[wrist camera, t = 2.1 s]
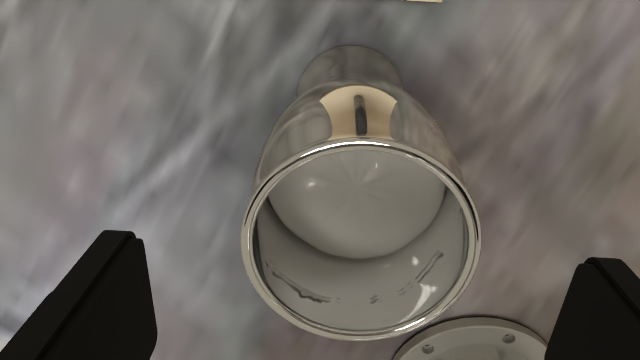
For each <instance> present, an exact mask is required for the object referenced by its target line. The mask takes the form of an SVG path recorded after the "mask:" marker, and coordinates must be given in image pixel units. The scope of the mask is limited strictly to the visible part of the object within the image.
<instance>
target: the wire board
mask: <svg viewBox="0 0 640 360" xmlns="http://www.w3.org/2000/svg"><path fill="white" fill-rule="evenodd" d="M409 1H428V2H442V0H409Z"/></svg>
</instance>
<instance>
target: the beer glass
mask: <svg viewBox="0 0 640 360" xmlns="http://www.w3.org/2000/svg"><path fill="white" fill-rule="evenodd" d="M481 245H482V232H481V224H480V219H479V215H478V212H477V209H476V206H475V204H474V202H473V199H472V197H471V196H470V194H469V192H468V189H467V186H466V183H465V180H464V177H463V174H462V171H461V169H460V166H459V163H458V161H457V158H456V156H455V154H454V152H453V150H452V148H451V146H450V144H449V142H448V140H447V138H446V136H445V134H444V133H443V131H442V130H441V128H440V127H439V125H438V124H437V122H436V121H435V120H434V118H433V117H432V115H431V114H430V113H429V112H428V110H427V109H426V108H425V107H424V106H423V105H422V104H421V103H420V102H419V101H417V100H416V99H415V98H414V97H413V96H411V95H410V94H409V93H408V92H406V91H405V90H404V87H403V83H402V80H401V77H400V75H399V73H398V71H397V70H396V68H395V67H394V65H393V64H392V63H391V62H390V61H389V60H388V59H387V58H386V57H384V56H383V55H382V54H380V53H378V52H377V51H375V50H372V49H370V48H367V47H363V46H356V45H347V46H340V47H336V48H333V49H330V50H328V51H326V52H324V53H322V54H320V55H319V56H318V57H316V58H315V59H314V60H313V61H312V62H311V63H310V64H309V65H308V66H307V68H306V69H305V71H304V72H303V74H302V76H301V78H300V80H299V83H298V87H297V92H296V99H295V100H294V101H293V102H292V103H291V104H290V105H289V106H288V107H287V108H286V109H285V110H284V112H283V113H282V114H281V115H280V117H279V118H278V119H277V121H276V123H275V124H274V126H273V128H272V130H271V132H270V134H269V136H268V138H267V139H266V142H265V144H264V146H263V148H262V151H261V154H260V157H259V160H258V163H257V166H256V169H255V173H254V177H253V181H252V186H251V190H250V195H249V200H248V206H247V208H246V211H245V214H244V217H243V221H242V226H241V235H240V246H241V255H242V260H243V264H244V267H245V270H246V273H247V275H248V277H249V279H250V281H251V283H252V285H253V287H254V288H255V290H256V291H257V293H258V294H259V295H260V297H261V298H262V299H263V300H264V301H265V302H266V303H267V305H268V306H269V307H270V308H272V309H273V310H274V311H275V312H276V313H277V314H279V315H280V316H281V317H283V318H284V319H286V320H287V321H289V322H290V323H292V324H294V325H296V326H298V327H299V328H302V329H304V330H306V331H309V332H311V333H314V334H317V335H320V336H324V337H328V338H332V339H338V340H346V341H374V340H382V339H388V338H392V337H396V336H400V335H403V334H406V333H409V332H412V331H414V330H416V329H418V328H421V327H423V326H424V325H426V324H428V323H430V322H432V321H433V320H435V319H436V318H438V317H439V316H440V315H442V314H443V313H444V312H445V311H447V310H448V309H449V308H450V307H451V306H452V305H453V304H454V303H455V302H456V301H457V300H458V299H459V298H460V296H461V295H462V294H463V292H464V291H465V290H466V288H467V287H468V285H469V283H470V282H471V280H472V278H473V276H474V273H475V271H476V268H477V265H478V262H479V258H480V253H481Z"/></svg>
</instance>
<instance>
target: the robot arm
mask: <svg viewBox="0 0 640 360" xmlns="http://www.w3.org/2000/svg"><path fill="white" fill-rule="evenodd" d="M156 341H157V325H156V319H155V313H154V306H153V300H152V293H151V287H150V280H149V274H148V267H147V261H146V254H145V248H144V243H143V240H142V239H138V238H136V236H135V234H134V233H133V232H132V231H116V230H105V231H103V232H102V233H101V234H100V235H99V236H98V237H97V238H96V240H95V241H94V242H93V243H92V245H91V246H90V247H89V248H88V249H87V251H86V252H85V253H84V254H83V255H82V257H81V258H80V259H79V260H78V261H77V263H76V264H75V265H74V266H73V267H72V269H71V270H70V271H69V272H68V274H67V275H66V276H65V277H64V278H63V280H62V281H61V282H60V283H59V284H58V286H57V287H56V288H55V289H54V290H53V291H52V292H51V293H50V294H49V295H48V296H47V297H46V298H45V299H44V300H43V301H42V303H41V304H40V305H39V306H38V307H37V309H36V310H35V311H34V312H33V313H32V315H31V316H30V317H29V318H28V319H27V321H26V322H25V323H24V324H23V325H22V327H21V328H20V329H19V330H18V331H17V333H16V334H15V335H14V336H13V337H12V339H11V340H10V341H9V342H8V343H7V345H6V346H5V347H4V348H3V349H2V351H1V352H0V360H149V359H150V357H151V355H152V353H153V351H154V348H155V345H156ZM393 360H640V279H639V278H638V277H637V276H636V275H635V273H634V272H633V271H632V270H631V269H630V268H629V267H628V266H627V265H626V264H625V263H624V262H623V261H622V260H620V259H615V258H597V257H591V258H588V259H587V260H586V261H585V262H584V264H583V263H582V264H579V265H578V266H577V268H576V270H575V273H574V275H573V278H572V281H571V283H570V286H569V289H568V292H567V294H566V297H565V300H564V303H563V305H562V308H561V311H560V313H559V316H558V319H557V322H556V324H555V327H554V330H553V332H552V335H551V338H550V341H549V343H548V345H547V344H546V343H545V342H544V341H543V339H542V338H541V337H540V336H538V335H537V334H535V333H534V332H532V331H531V330H529V329H528V328H526V327H523V326H521V325H519V324H516V323H514V322H510V321H506V320H502V319H497V318H485V317H475V318H462V319H457V320H452V321H447V322H444V323H441V324H438V325H436V326H433V327H430V328H428V329H426V330H425V331H423V332H421V333H419V334H417V335H416V336H414V337H413V338H412V339H411V340H409V341H408V342H407V343H406V344H404V345H403V347H402V348H401V349H400V350H399V351H398V352H397V354H396V355H395V356H394V358H393Z"/></svg>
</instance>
